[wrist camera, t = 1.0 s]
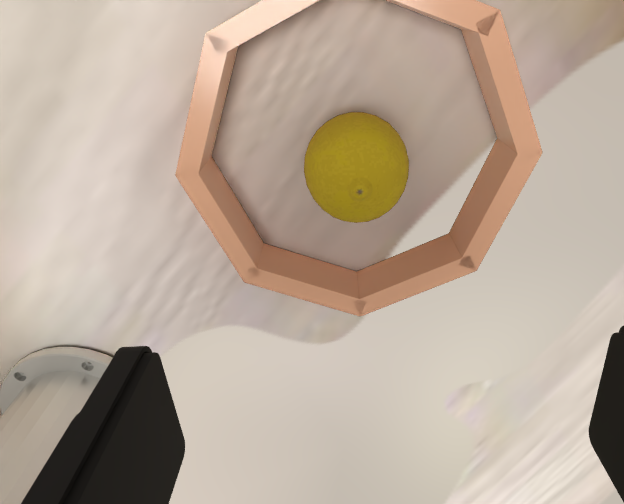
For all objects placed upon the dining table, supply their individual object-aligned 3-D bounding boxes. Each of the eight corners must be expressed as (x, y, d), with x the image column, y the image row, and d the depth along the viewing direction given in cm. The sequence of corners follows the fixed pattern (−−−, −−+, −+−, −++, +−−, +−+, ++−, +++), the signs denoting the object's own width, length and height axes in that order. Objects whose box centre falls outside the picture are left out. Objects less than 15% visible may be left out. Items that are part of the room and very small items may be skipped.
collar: (428, 309, 35) (438, 339, 32) (174, 232, 33) (158, 256, 30) (568, 43, 27) (600, 49, 24) (244, -82, 25) (232, -95, 22)
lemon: (385, 87, 28) (405, 116, 21) (407, 175, 31) (431, 228, 23) (294, 117, 29) (284, 154, 22) (322, 200, 32) (321, 259, 24)
